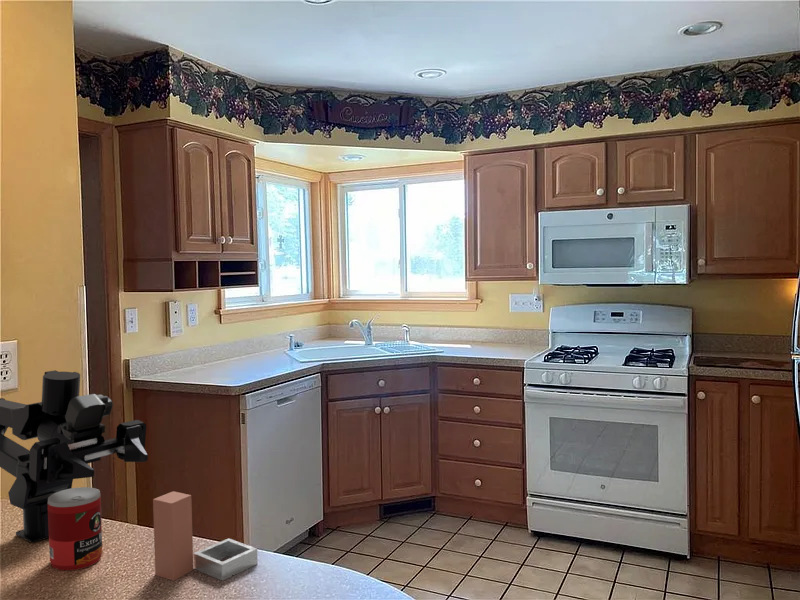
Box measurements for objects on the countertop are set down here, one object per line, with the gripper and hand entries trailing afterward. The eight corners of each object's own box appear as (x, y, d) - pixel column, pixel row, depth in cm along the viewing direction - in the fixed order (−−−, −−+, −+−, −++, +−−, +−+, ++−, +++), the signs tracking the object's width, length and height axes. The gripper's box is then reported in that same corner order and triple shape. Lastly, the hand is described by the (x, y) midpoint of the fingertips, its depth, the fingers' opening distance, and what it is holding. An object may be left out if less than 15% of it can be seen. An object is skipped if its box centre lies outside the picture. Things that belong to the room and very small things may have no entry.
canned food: (82, 573, 103) (80, 504, 102) (38, 569, 104) (35, 501, 104) (113, 552, 110) (111, 488, 110) (71, 548, 112) (69, 485, 111)
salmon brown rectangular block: (155, 574, 102) (153, 499, 101) (175, 564, 106) (173, 491, 105) (173, 580, 100) (171, 503, 100) (193, 569, 104) (191, 495, 103)
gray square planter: (193, 568, 104) (193, 553, 104) (229, 552, 110) (228, 538, 109) (222, 580, 100) (221, 564, 100) (257, 563, 105) (257, 548, 105)
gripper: (11, 400, 103) (64, 429, 94) (120, 382, 118) (174, 405, 110) (9, 467, 105) (61, 502, 96) (117, 441, 120) (170, 468, 111)
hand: (120, 465), depth 103 cm, fingers open, 9 cm apart
